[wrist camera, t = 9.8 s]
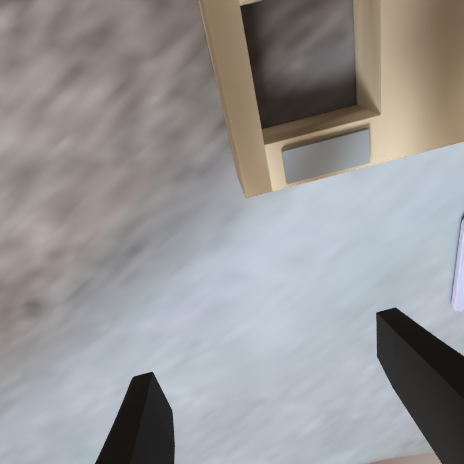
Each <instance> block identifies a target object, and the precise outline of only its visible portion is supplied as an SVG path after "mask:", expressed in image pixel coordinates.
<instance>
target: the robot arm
mask: <svg viewBox="0 0 464 464" xmlns="http://www.w3.org/2000/svg"><path fill="white" fill-rule="evenodd" d="M451 307H452V308H453V309H454V310H455V311H457V312H458V311H463V310H464V218H463V220H462V223H461V230H460V238H459V245H458V253H457V261H456V269H455V277H454V285H453V293H452V301H451ZM376 319H377V357H378V359H379V361H380V363H381V365H382V367H383V369H384V371H385V373H386V375H387V377H388V379H389V381H390V383H391V385H392V387H393V389H394V390H395V392H396V393H397V395H398V396H399V398H400V400H401V401H402V403H403V404H404V406H405V407H406V409H407V410H408V412H409V413H410V415H411V417H412V418H413V420H414V421H415V423H416V424H417V426H418V427H419V429H420V430H421V432H422V433H423V435H424V436H425V438H426V440H427V441H428V443H429V444H430V446H431V447H432V449H433V450H434V452H435V453H436V455H437V456H438V458H439V460H440V461H441V463H442V464H464V356H463V355H461V354H460V353H458V352H457V351H456V350H454V349H453V348H451V347H450V346H448V345H447V344H445V343H444V342H442V341H441V340H440V339H438V338H437V337H435V336H434V335H433V334H431V333H430V332H428V331H427V330H426V329H424V328H423V327H421V326H420V325H419V324H417V323H416V322H415V321H413V320H412V319H411V318H409V317H408V316H407V315H405V314H404V313H403V312H401V311H400V310H398V309H397V308H392V309H388V310H384V311H380V312H377V313H376ZM174 453H175V442H174V426H173V413H172V409H171V407H170V405H169V403H168V401H167V399H166V397H165V395H164V393H163V391H162V389H161V387H160V385H159V383H158V381H157V379H156V377H155V375H154V373H153V372H149V373H146V374H142V375H138V376H134V377H133V378H132V380H131V382H130V385H129V387H128V390H127V392H126V395H125V397H124V400H123V402H122V405H121V407H120V410H119V412H118V414H117V417H116V419H115V421H114V424H113V426H112V428H111V430H110V433H109V435H108V437H107V439H106V441H105V444H104V446H103V448H102V450H101V452H100V454H99V456H98V459H97V461H96V463H95V464H174Z"/></svg>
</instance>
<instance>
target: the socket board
mask: <svg viewBox="0 0 464 464" xmlns="http://www.w3.org/2000/svg"><path fill="white" fill-rule="evenodd" d="M259 1H263V0H198V2H199V7H200V11H201V16H202V20H203V24H204V29H205V33H206V38H207V42H208V47H209V51H210V56H211V60H212V64H213V69H214V73H215V78H216V82H217V87H218V91H219V96H220V100H221V105H222V109H223V113H224V118H225V122H226V127H227V131H228V136H229V140H230V145H231V149H232V153H233V158H234V162H235V167H236V171H237V176H238V180H239V182H240V185H241V187H242V189H243V192H244V194H245V197H246V198H249V197H253V196H256V195H260V194H264V193H268V192H272V191H276V190H279V189H283V188H287V187H291V186H295V185H299V184H302V183H306V182H310V181H314V180H318V179H322V178H326V177H329V176H333V175H337V174H341V173H345V172H349V171H352V170H356V169H360V168H364V167H368V166H372V165H376V164H379V163H383V162H387V161H391V160H395V159H399V158H402V157H406V156H410V155H414V154H418V153H422V152H426V151H429V150H433V149H437V148H441V147H445V146H449V145H452V144H456V143H460V142H464V0H353V15H354V41H355V67H356V93H357V105H354V106H350V107H346V108H342V109H338V110H335V111H331V112H327V113H323V114H319V115H315V116H311V117H308V118H304V119H300V120H296V121H292V122H288V123H284V124H280V125H277V126H273V127H269V128H265V129H261V123H260V117H259V112H258V106H257V100H256V95H255V89H254V83H253V78H252V72H251V66H250V61H249V55H248V49H247V43H246V38H245V32H244V26H243V21H242V15H241V9H240V6H243V5H247V4H251V3H255V2H259Z"/></svg>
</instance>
